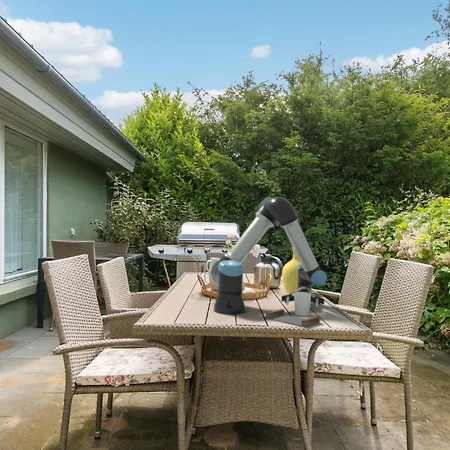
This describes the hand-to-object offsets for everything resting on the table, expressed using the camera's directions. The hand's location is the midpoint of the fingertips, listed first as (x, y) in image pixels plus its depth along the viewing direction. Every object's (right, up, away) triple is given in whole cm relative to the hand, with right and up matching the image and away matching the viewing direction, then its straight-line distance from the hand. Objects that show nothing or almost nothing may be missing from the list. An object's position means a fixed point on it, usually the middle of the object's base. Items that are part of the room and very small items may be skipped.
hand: (302, 303), depth 188 cm
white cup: (+1, -6, +3) cm, 7 cm away
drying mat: (-6, -6, -10) cm, 13 cm away
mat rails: (-6, -6, -10) cm, 13 cm away
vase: (+8, -6, +65) cm, 66 cm away
